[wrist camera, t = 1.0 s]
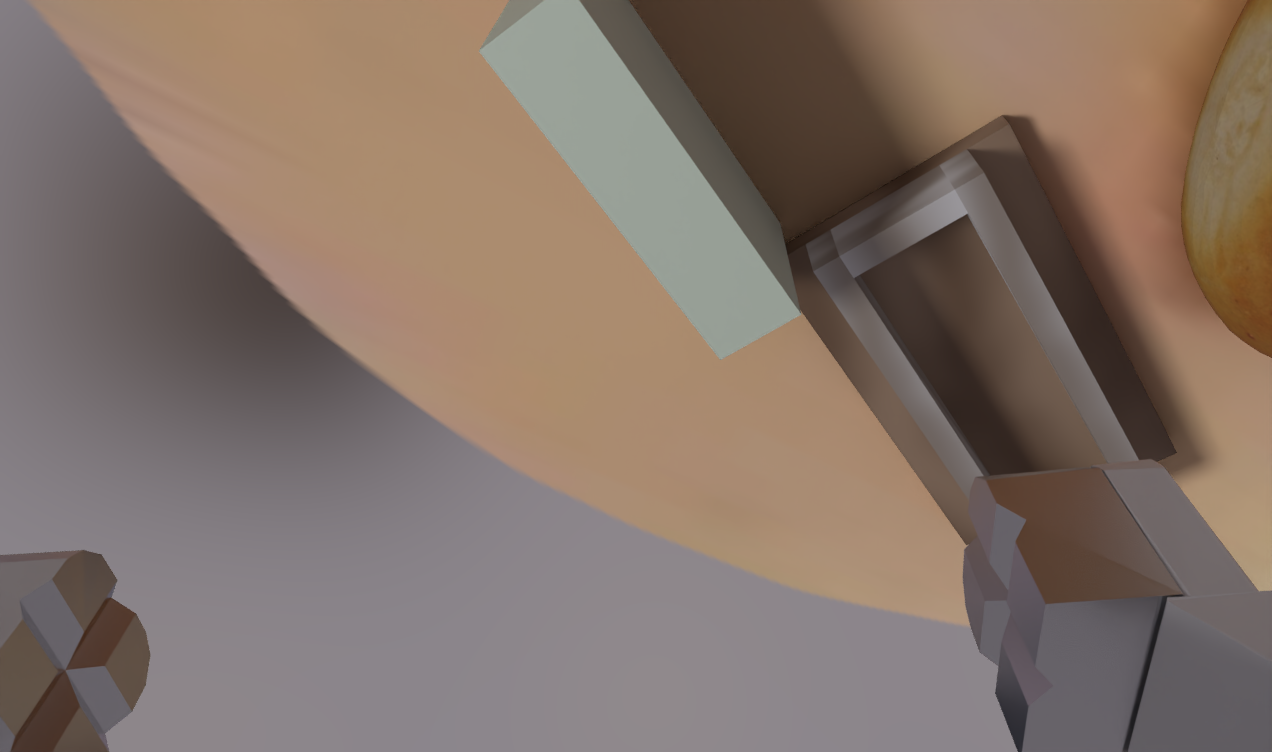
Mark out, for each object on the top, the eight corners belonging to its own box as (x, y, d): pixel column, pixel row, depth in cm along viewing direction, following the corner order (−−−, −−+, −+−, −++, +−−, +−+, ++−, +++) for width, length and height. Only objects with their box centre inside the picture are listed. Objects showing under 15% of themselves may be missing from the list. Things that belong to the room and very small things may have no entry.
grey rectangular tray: (1001, 115, 38) (1029, 146, 36) (1167, 440, 47) (1200, 486, 44) (767, 255, 42) (775, 293, 39) (961, 532, 51) (979, 580, 48)
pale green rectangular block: (585, -64, 35) (566, -18, 29) (779, 221, 41) (801, 314, 35) (513, -7, 37) (478, 51, 30) (712, 262, 43) (720, 359, 36)
